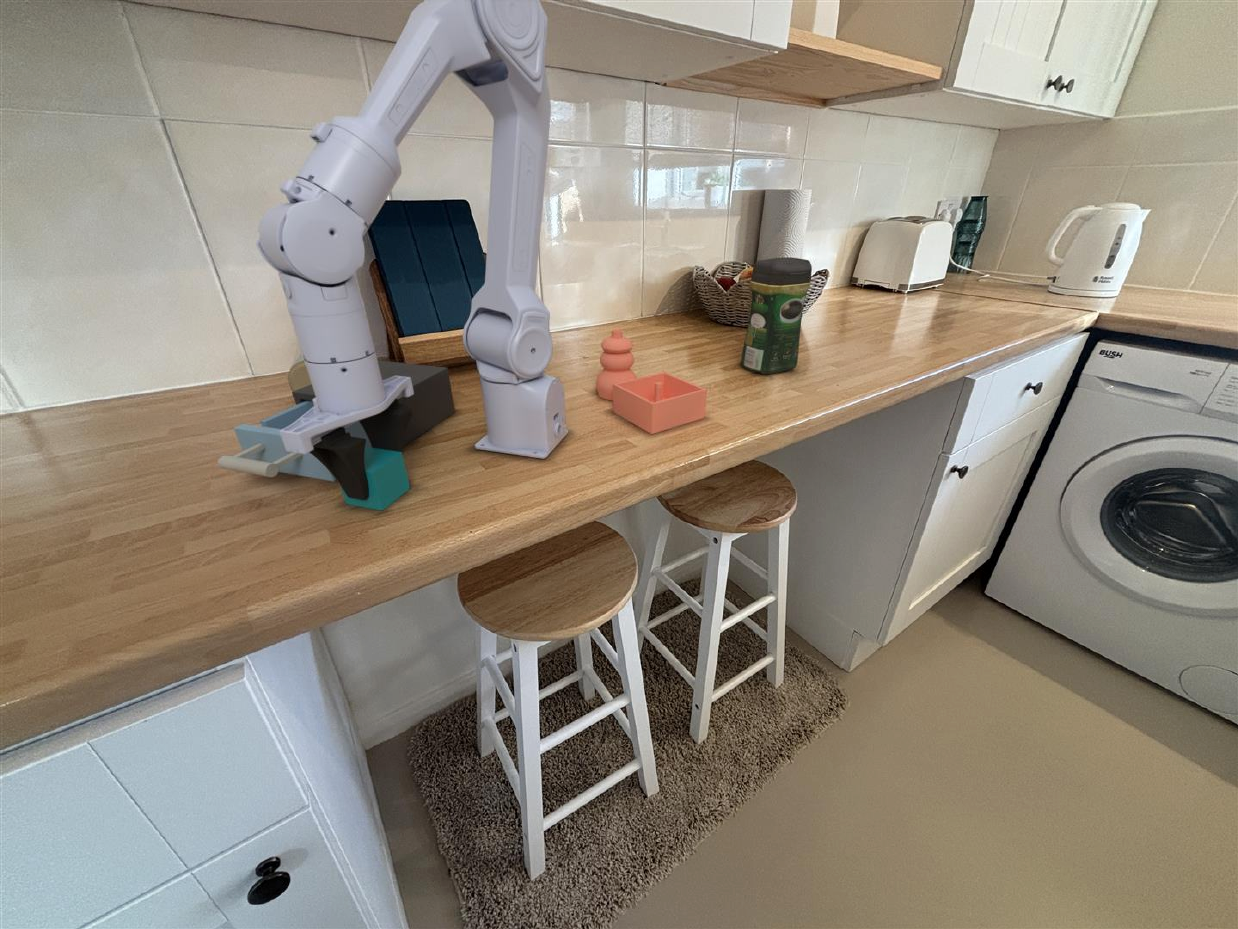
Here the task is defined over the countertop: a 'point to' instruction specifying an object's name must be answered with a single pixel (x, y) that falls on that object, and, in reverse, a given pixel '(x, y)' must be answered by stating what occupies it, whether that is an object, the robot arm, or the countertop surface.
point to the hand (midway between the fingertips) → (376, 484)
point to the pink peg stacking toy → (646, 390)
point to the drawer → (279, 448)
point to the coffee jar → (776, 314)
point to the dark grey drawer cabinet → (426, 402)
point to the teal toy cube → (382, 478)
